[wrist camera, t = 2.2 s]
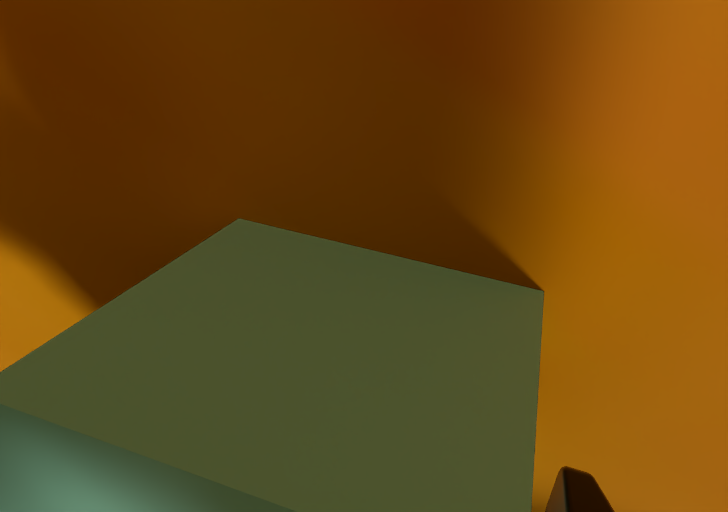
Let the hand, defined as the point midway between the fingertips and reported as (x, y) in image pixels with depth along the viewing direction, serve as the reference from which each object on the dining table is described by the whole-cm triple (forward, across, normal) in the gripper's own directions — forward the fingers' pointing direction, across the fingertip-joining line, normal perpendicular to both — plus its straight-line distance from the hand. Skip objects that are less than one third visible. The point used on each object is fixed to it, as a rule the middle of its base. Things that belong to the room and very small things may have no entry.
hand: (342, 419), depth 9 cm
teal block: (+1, 0, 0) cm, 1 cm away
